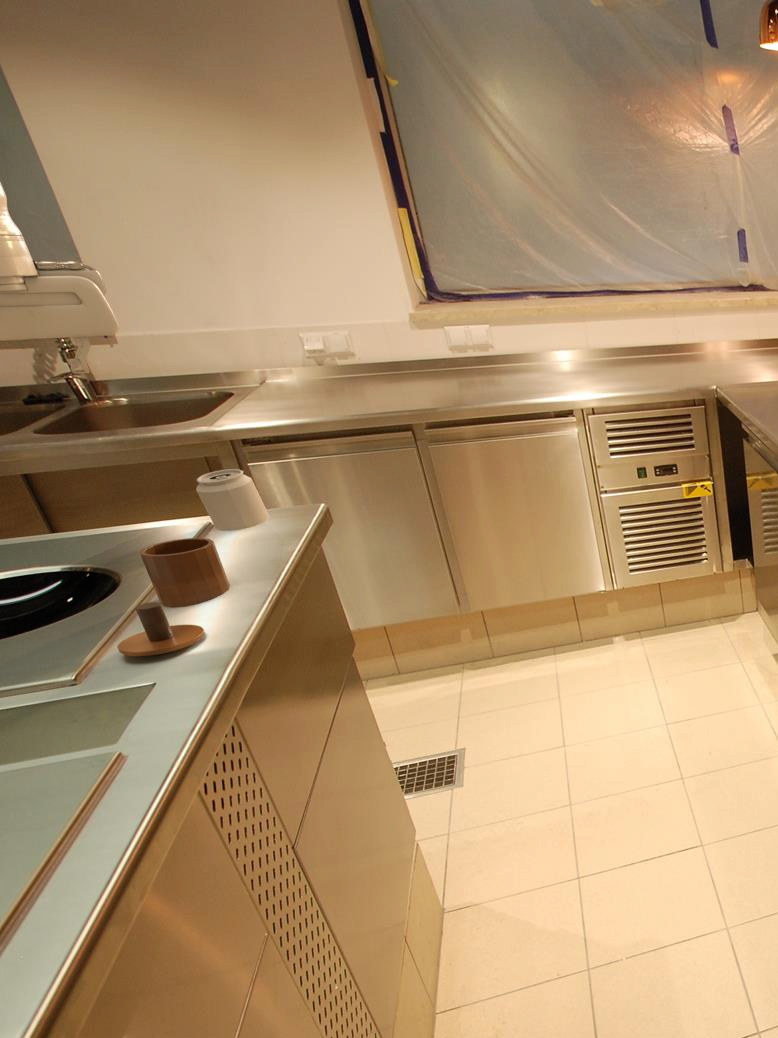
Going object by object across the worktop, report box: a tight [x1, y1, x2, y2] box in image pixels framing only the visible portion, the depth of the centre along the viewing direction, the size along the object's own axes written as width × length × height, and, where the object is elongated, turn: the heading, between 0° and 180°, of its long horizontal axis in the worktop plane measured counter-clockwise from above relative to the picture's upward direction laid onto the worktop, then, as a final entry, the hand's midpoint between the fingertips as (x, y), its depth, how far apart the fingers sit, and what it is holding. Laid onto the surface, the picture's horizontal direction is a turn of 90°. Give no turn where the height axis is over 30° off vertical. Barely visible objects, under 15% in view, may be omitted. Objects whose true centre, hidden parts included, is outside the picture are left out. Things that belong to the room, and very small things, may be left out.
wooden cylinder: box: [139, 537, 231, 609], centre depth 119 cm, size 8×8×8 cm
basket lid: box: [117, 601, 206, 657], centre depth 107 cm, size 8×8×6 cm
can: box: [195, 468, 270, 532], centre depth 142 cm, size 8×8×12 cm
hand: (32, 376), depth 109 cm, fingers open, 8 cm apart
